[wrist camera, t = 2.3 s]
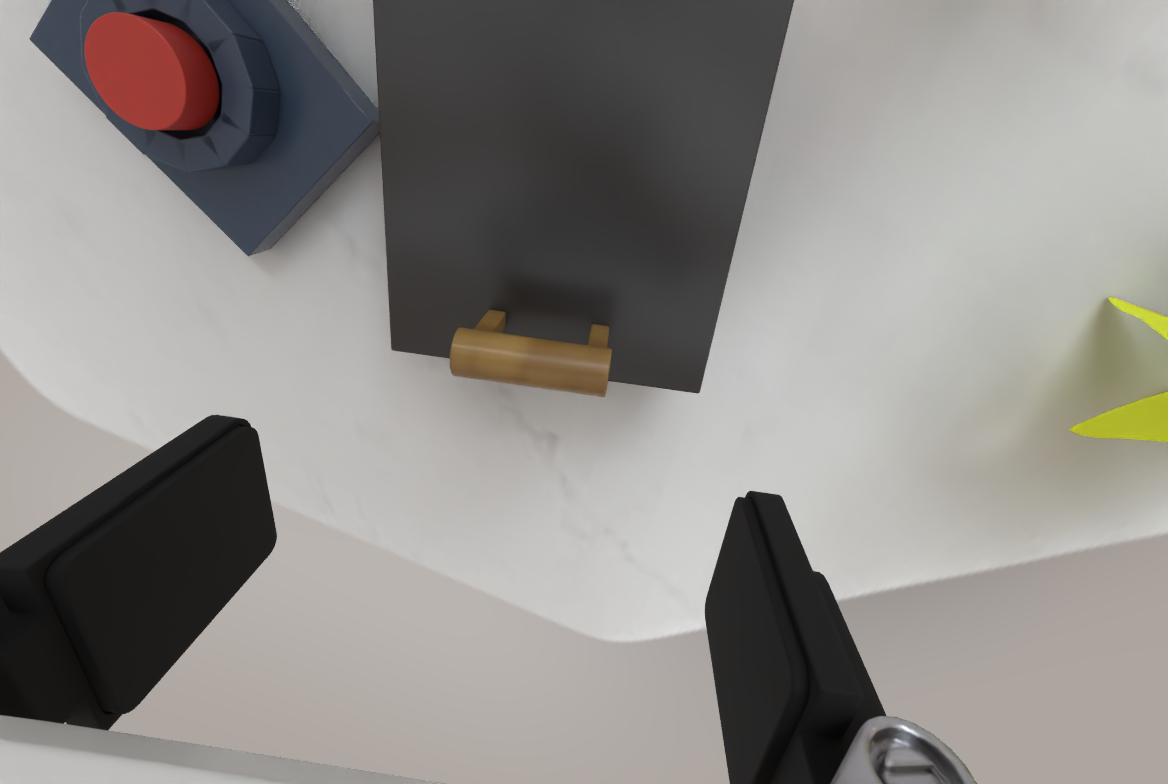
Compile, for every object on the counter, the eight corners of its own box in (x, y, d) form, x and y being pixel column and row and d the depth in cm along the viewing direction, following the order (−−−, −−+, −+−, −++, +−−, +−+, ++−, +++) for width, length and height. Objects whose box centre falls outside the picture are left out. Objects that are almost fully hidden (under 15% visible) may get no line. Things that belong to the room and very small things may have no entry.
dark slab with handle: (696, 381, 22) (714, 454, 17) (402, 340, 22) (336, 400, 18) (796, -43, 16) (871, -123, 11) (384, -92, 16) (272, -193, 11)
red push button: (109, 69, 20) (65, 64, 19) (157, -4, 19) (114, -16, 18) (188, 150, 21) (153, 151, 20) (238, 86, 20) (205, 82, 19)
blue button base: (68, 45, 23) (-21, 31, 20) (176, -134, 20) (91, -183, 17) (270, 249, 26) (221, 265, 23) (389, 123, 23) (351, 121, 20)
